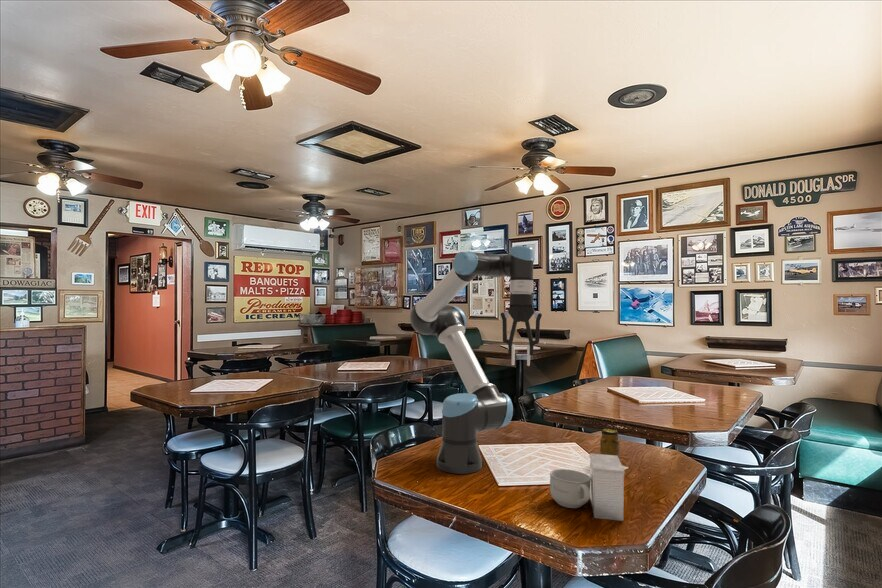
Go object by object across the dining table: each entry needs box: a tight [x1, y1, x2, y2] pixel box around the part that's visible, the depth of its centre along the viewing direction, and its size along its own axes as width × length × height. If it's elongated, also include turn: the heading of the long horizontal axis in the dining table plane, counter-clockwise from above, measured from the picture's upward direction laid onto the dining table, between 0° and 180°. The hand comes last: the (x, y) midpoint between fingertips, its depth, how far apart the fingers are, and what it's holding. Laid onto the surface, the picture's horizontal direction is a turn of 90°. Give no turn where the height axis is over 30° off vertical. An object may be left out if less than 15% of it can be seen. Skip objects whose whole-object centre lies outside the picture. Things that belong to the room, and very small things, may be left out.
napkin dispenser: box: [589, 452, 626, 522], centre depth 123 cm, size 8×12×13 cm, turn 167°
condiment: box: [599, 428, 630, 471], centre depth 156 cm, size 7×8×12 cm
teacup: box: [549, 468, 591, 509], centre depth 125 cm, size 14×11×8 cm
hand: (520, 364), depth 151 cm, fingers open, 4 cm apart
